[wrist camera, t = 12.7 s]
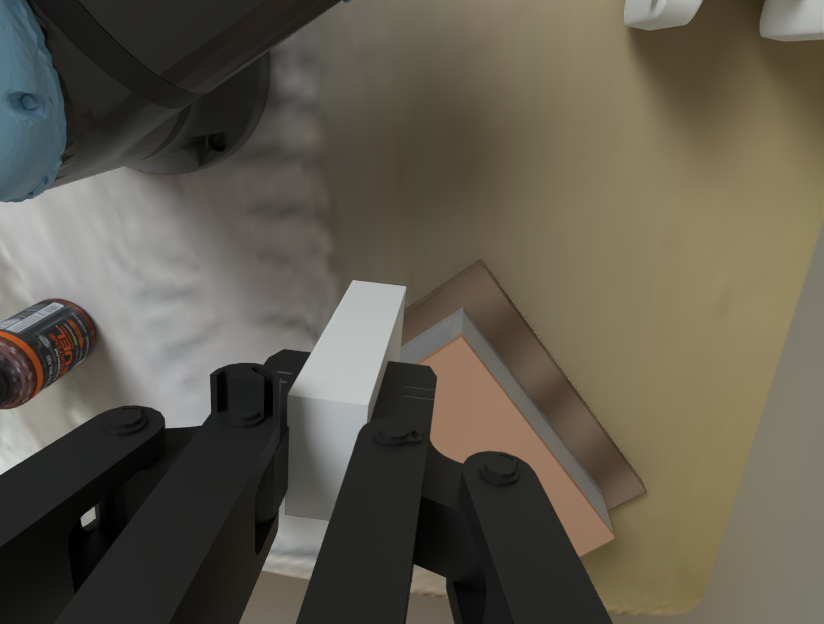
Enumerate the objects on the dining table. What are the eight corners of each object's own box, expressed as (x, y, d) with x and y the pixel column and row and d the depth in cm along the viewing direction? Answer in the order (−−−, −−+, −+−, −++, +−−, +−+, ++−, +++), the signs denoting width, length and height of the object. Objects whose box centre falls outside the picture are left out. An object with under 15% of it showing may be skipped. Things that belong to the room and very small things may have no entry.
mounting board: (321, 366, 53) (317, 372, 52) (481, 259, 49) (480, 264, 47) (485, 560, 59) (485, 570, 58) (642, 482, 54) (646, 491, 53)
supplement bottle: (109, 356, 55) (21, 427, 44) (46, 363, 56) (-54, 434, 45) (85, 291, 53) (-12, 349, 42) (20, 299, 54) (-90, 358, 43)
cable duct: (361, 372, 52) (349, 403, 47) (463, 306, 49) (461, 332, 44) (501, 541, 57) (503, 584, 52) (601, 490, 54) (613, 531, 49)
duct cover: (348, 406, 47) (346, 411, 46) (461, 332, 44) (461, 336, 43) (503, 588, 51) (503, 596, 51) (612, 531, 49) (615, 538, 48)
